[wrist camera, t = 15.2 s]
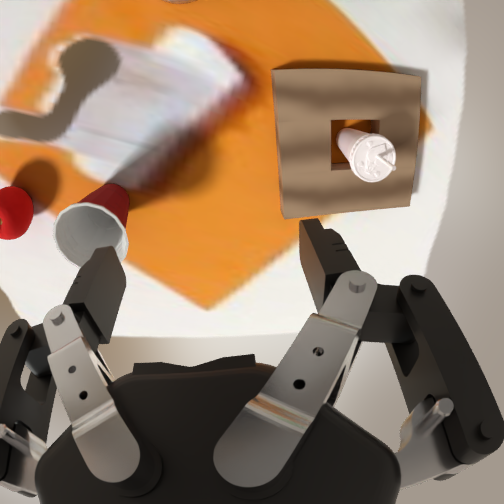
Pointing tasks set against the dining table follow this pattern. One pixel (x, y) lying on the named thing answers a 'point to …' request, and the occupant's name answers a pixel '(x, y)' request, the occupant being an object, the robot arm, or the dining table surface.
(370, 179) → the smoothie
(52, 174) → the dining table surface
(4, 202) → the fruit
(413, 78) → the socket board
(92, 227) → the plastic cup
